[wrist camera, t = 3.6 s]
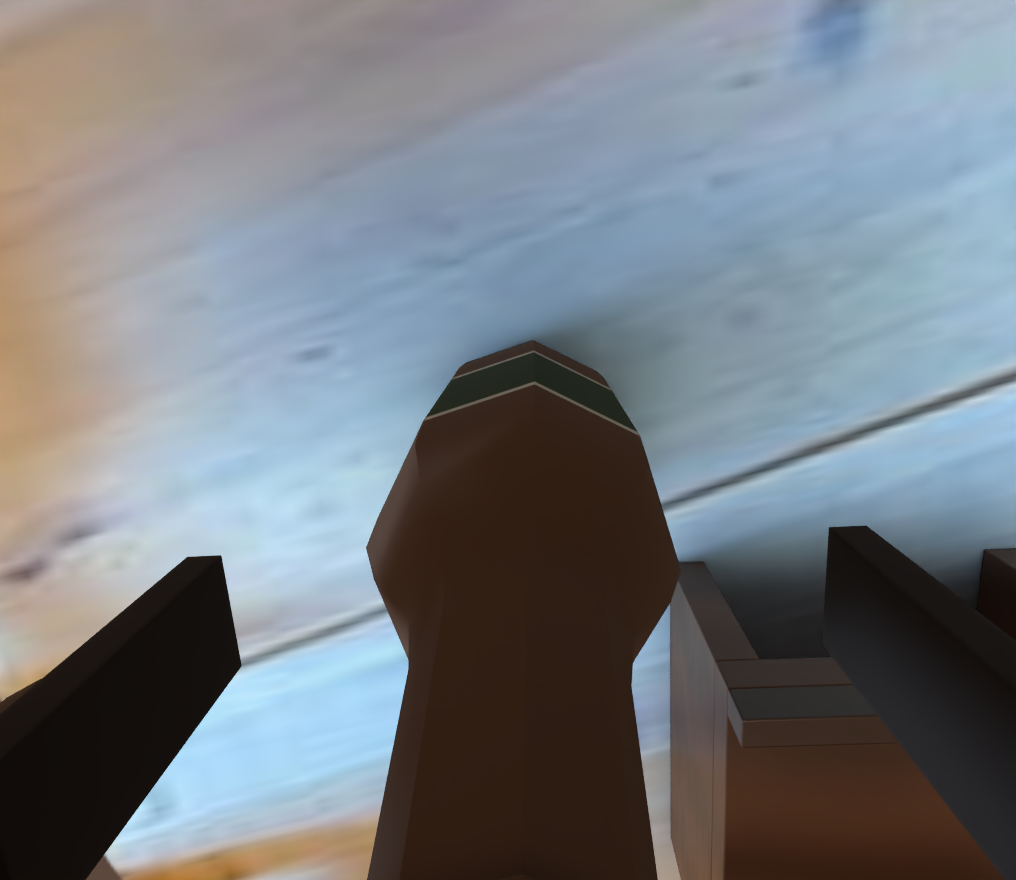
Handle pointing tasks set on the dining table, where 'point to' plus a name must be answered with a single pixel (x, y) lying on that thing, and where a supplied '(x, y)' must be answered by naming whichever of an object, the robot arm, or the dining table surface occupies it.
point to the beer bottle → (520, 629)
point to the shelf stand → (800, 758)
